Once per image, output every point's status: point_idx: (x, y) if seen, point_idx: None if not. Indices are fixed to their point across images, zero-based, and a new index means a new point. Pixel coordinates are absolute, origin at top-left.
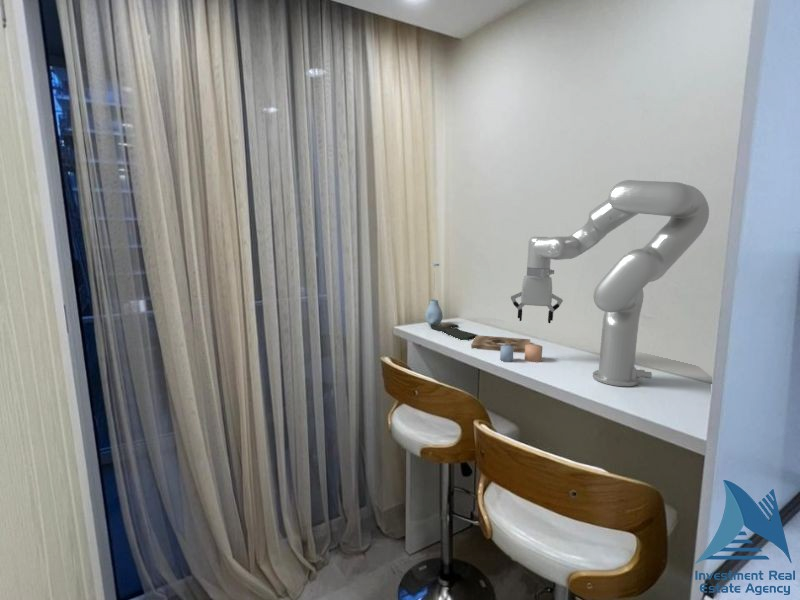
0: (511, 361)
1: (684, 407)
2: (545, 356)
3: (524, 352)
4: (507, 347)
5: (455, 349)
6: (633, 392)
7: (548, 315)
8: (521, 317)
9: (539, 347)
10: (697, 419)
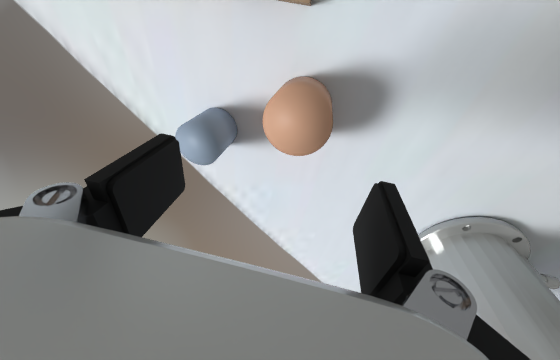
0: (232, 141)
1: None
2: (366, 51)
3: (285, 1)
4: (199, 153)
5: (28, 6)
6: None
7: (377, 233)
8: (170, 203)
9: (315, 142)
10: None
